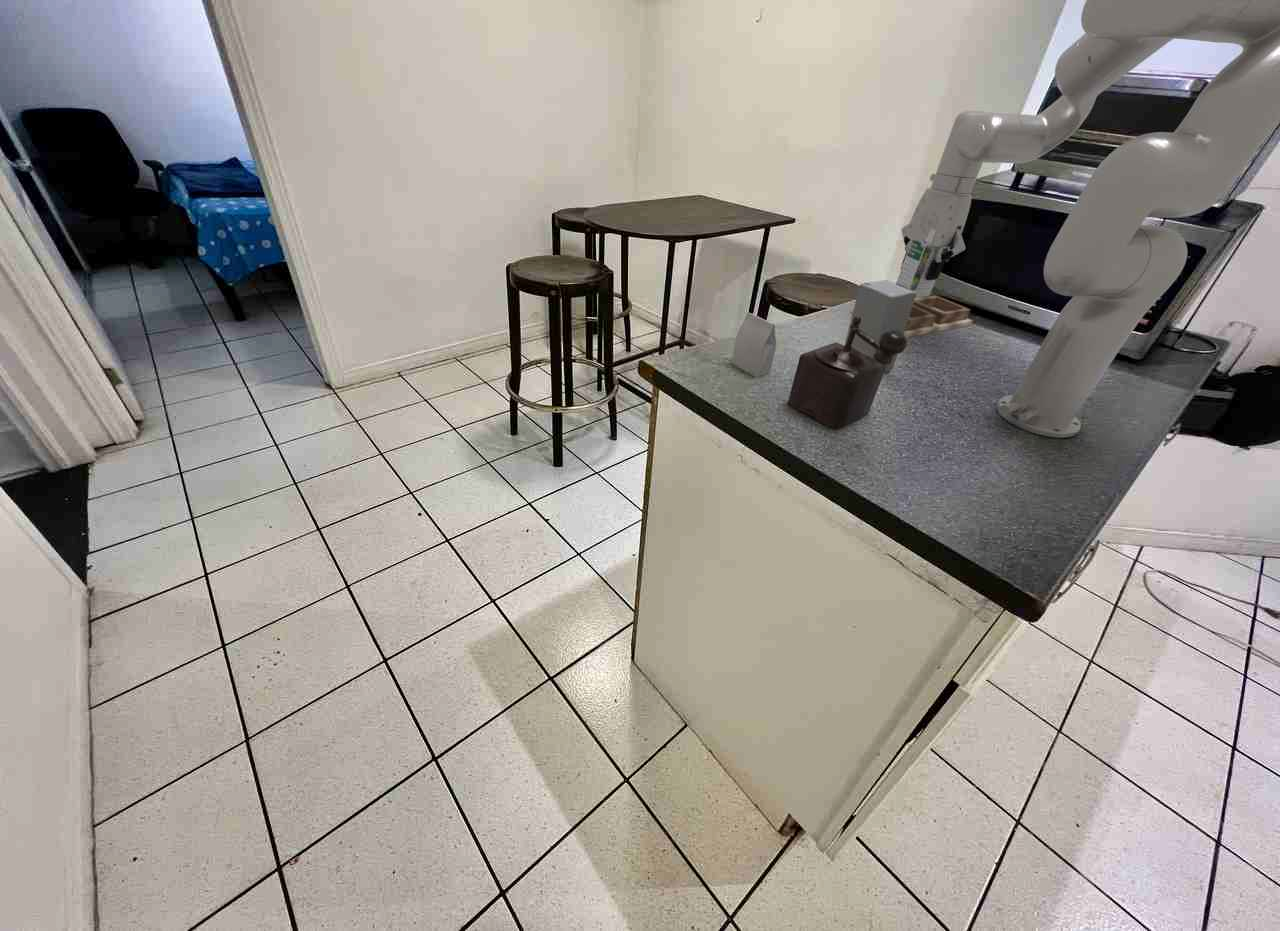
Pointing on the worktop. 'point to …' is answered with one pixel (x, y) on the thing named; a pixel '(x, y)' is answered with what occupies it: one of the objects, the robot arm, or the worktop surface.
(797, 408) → the manual coffee grinder
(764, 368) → the white paper bag
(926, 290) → the syrup box
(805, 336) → the worktop surface
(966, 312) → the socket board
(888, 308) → the skincare box
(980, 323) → the worktop surface
